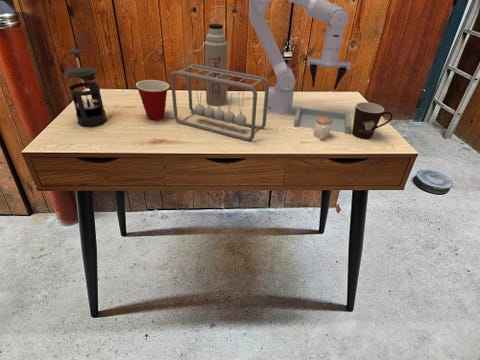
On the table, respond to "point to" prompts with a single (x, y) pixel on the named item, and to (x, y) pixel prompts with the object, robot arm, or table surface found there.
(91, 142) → the table surface
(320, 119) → the cylinder with tab
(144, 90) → the plastic cup
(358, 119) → the coffee mug
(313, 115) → the caddy
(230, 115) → the newton's cradle
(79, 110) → the french press
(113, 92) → the table surface
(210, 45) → the thermos bottle
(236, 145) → the table surface
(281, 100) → the robot arm
